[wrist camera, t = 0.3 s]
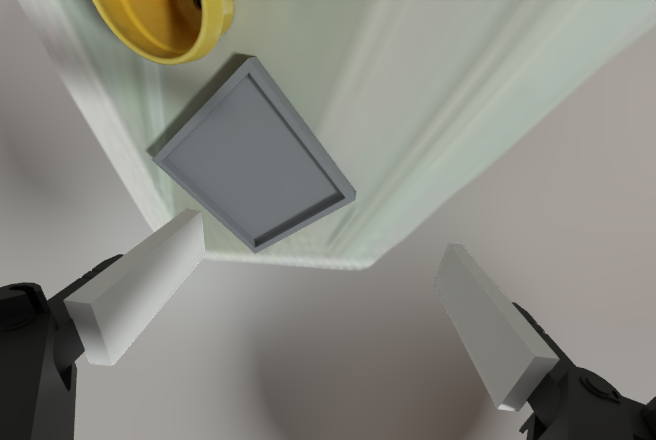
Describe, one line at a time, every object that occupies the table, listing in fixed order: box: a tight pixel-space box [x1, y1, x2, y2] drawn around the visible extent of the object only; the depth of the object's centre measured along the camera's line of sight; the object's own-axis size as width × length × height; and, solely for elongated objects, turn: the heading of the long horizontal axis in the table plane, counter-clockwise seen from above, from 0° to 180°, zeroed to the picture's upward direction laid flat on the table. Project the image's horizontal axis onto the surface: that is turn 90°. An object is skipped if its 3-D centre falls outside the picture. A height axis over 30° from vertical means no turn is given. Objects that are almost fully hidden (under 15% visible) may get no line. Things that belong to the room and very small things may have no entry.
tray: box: [152, 57, 356, 253], centre depth 39 cm, size 22×22×2 cm
